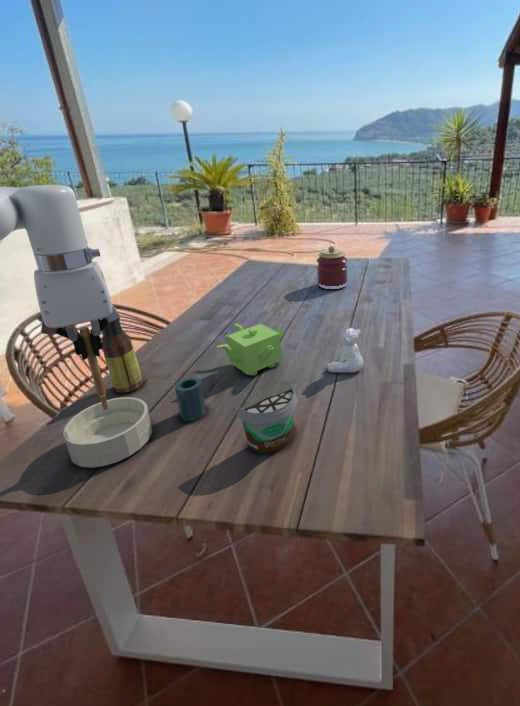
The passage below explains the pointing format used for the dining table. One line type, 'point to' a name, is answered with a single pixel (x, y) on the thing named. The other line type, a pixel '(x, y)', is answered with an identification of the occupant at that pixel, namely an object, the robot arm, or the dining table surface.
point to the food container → (269, 422)
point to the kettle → (253, 348)
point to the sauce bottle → (120, 358)
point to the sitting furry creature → (348, 354)
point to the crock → (190, 399)
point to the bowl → (108, 432)
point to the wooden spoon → (94, 366)
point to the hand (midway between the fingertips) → (91, 354)
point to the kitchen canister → (332, 267)
